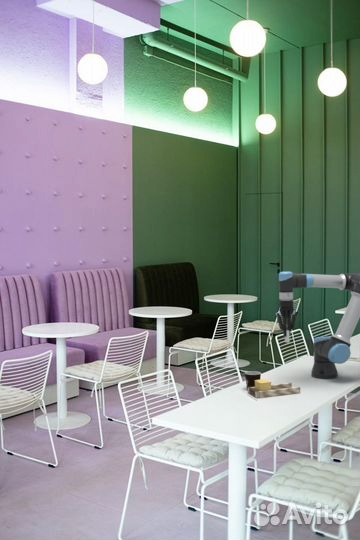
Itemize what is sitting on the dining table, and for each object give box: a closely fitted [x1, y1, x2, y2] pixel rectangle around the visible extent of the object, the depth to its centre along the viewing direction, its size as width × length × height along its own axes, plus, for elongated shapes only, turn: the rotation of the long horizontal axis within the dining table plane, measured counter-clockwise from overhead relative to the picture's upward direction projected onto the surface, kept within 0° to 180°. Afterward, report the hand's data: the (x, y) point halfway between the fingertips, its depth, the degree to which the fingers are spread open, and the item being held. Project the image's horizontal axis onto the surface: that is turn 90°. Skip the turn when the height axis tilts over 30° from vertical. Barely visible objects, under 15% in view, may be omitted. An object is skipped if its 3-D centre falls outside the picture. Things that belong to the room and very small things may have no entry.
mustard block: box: [255, 378, 272, 391], centre depth 322 cm, size 6×7×7 cm
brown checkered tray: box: [247, 382, 301, 401], centre depth 324 cm, size 25×12×4 cm, turn 108°
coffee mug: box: [244, 370, 262, 391], centre depth 335 cm, size 12×9×10 cm
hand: (287, 342), depth 342 cm, fingers closed
